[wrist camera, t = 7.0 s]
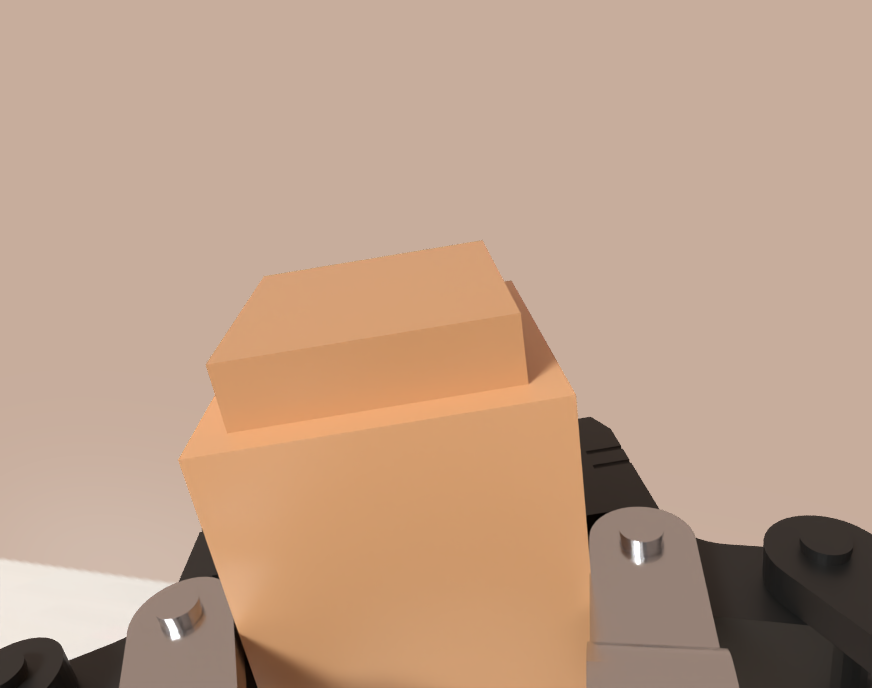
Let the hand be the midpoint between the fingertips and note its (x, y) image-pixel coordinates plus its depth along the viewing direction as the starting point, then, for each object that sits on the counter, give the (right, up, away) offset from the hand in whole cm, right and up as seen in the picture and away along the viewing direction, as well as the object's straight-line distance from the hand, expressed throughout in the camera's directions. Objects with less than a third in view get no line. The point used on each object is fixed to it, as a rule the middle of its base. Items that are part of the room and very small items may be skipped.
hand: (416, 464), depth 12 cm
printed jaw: (+1, -7, 0) cm, 7 cm away
